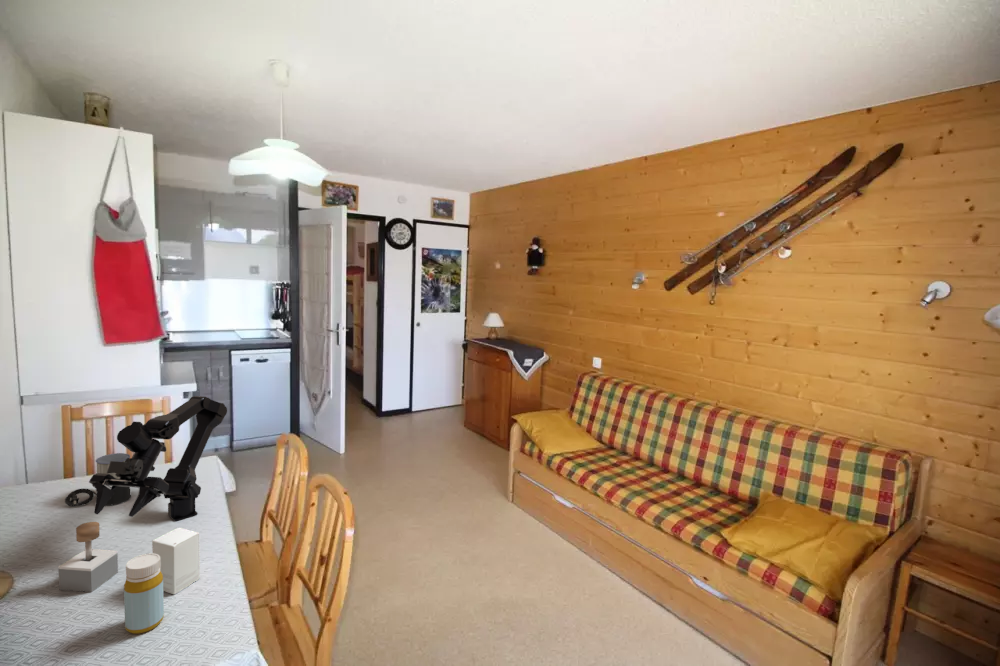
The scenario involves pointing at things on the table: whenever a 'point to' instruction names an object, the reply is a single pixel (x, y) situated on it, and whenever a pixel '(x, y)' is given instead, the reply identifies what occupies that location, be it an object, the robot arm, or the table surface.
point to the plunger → (87, 536)
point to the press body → (88, 570)
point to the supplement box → (178, 558)
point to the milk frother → (102, 467)
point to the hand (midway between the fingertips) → (113, 515)
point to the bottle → (143, 594)
